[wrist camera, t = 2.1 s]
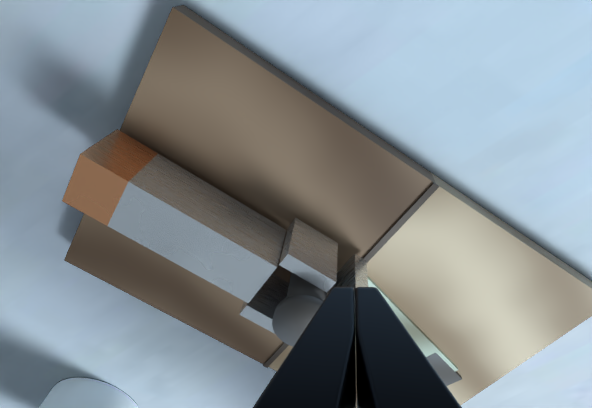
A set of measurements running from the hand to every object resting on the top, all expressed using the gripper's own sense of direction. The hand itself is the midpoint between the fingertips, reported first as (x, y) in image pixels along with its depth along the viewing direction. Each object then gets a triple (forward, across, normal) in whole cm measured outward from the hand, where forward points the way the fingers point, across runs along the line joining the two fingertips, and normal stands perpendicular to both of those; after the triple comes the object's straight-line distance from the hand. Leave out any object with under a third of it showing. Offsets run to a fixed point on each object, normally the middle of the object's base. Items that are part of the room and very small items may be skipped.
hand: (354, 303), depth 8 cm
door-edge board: (+12, +1, +9) cm, 15 cm away
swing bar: (+10, +6, +4) cm, 13 cm away
